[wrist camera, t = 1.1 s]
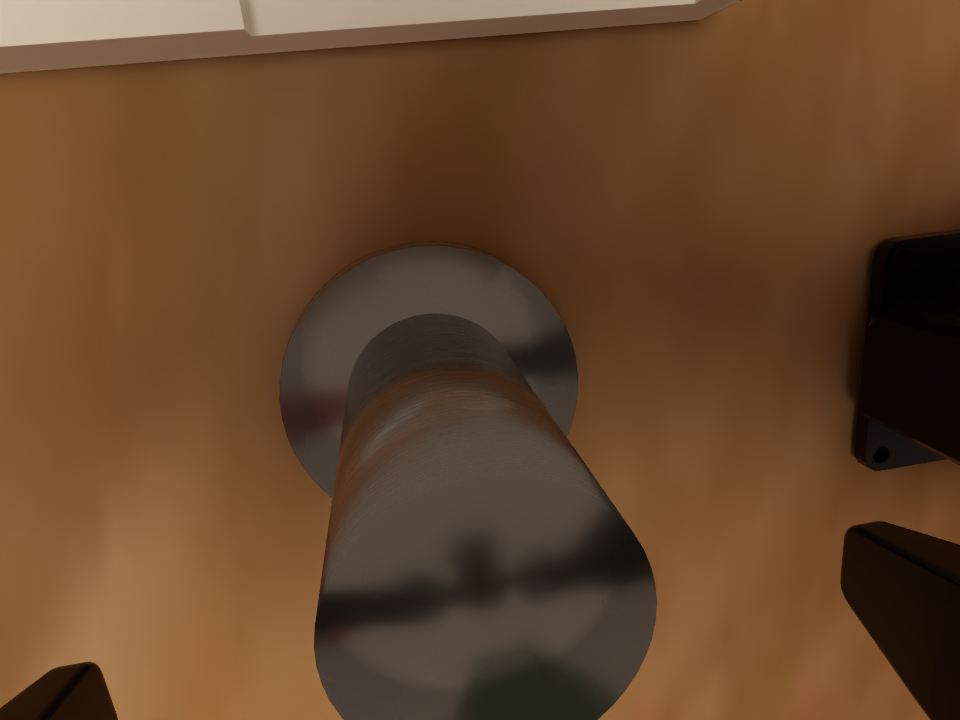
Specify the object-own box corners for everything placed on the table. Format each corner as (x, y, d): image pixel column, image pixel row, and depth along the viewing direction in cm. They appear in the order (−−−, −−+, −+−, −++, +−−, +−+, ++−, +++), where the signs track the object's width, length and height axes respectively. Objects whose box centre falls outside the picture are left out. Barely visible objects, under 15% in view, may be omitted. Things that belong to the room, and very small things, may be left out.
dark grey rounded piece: (558, 225, 15) (788, 299, 7) (572, 485, 17) (762, 792, 9) (259, 259, 14) (85, 393, 6) (312, 527, 16) (244, 912, 8)
